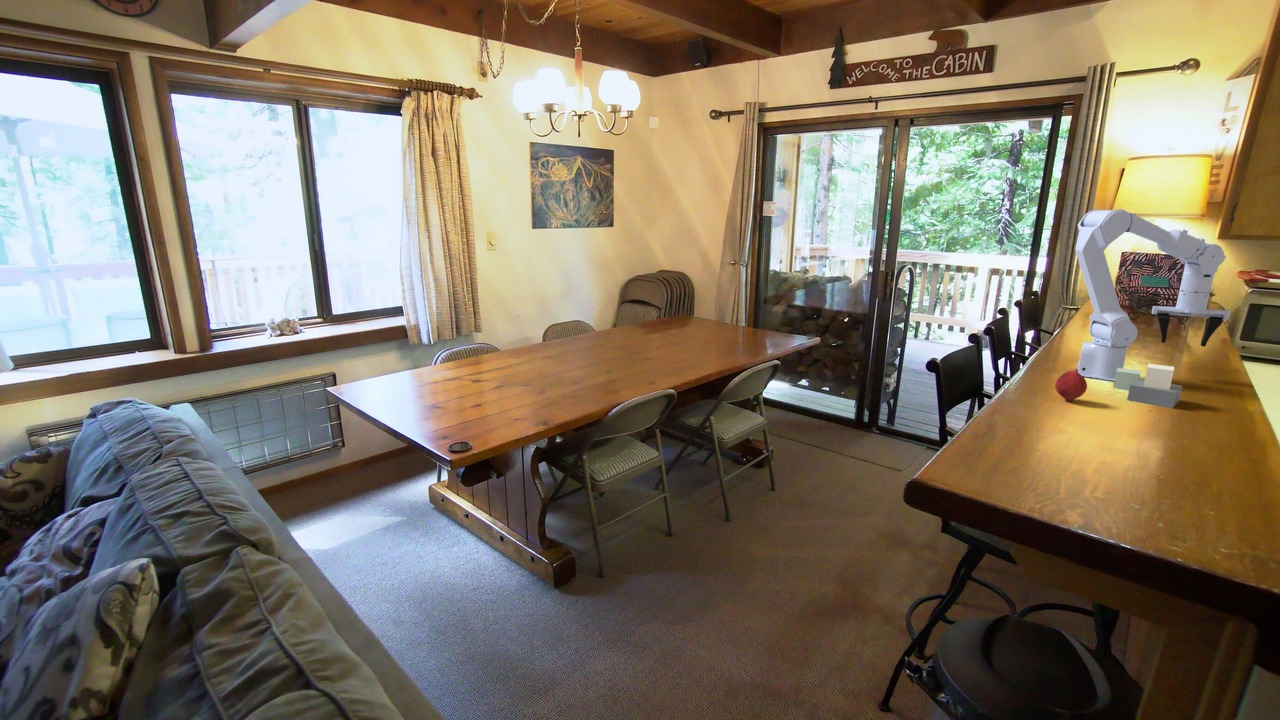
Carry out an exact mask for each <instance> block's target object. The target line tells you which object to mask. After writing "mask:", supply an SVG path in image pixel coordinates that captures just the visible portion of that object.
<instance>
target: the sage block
mask: <svg viewBox="0 0 1280 720" xmlns="http://www.w3.org/2000/svg"><path fill="white" fill-rule="evenodd" d="M1141 372H1142V371H1141V370H1139V369H1138V370H1136V369H1129V368H1124V367H1123V368H1117V371H1116V375H1115V380H1114V381H1113V385H1112V389H1115V388H1117V389H1116V390H1121V389H1122V390H1121V391H1128V392H1129V389H1130V385H1131V384H1132V383H1133V382H1135V381H1136V380H1137V379H1140V377H1141Z"/></svg>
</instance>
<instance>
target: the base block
mask: <svg viewBox="0 0 1280 720" xmlns="http://www.w3.org/2000/svg"><path fill="white" fill-rule="evenodd" d="M1144 381H1145V379H1140V378H1139V379H1137V380H1136V381H1135V382H1133V383H1132V384H1131V385H1130V389H1129V391H1128V393H1127V394H1128V395H1127V399H1126V401H1129V402H1135V403H1141V404H1144V405H1145V404H1146V405H1151V406H1156V407H1161V406H1162V407H1163V408H1168V409H1174V407H1175V406H1176V405H1177V404H1178V403H1179V402H1180V398H1181V394H1182V390H1183V386H1182V385H1177V384H1172V383H1171V386H1170V390H1167V389H1160V388H1153V387H1146V386H1144Z"/></svg>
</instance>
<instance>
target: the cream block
mask: <svg viewBox="0 0 1280 720" xmlns="http://www.w3.org/2000/svg"><path fill="white" fill-rule="evenodd" d="M1174 372H1175V366H1172V365H1171V366H1170V365H1163V364H1156V363H1148V365H1147V368H1146V373H1145V378H1144V380H1145V381H1144V386H1146V387H1153V388H1160V389H1167V390H1170V386H1171V384H1172V380H1173V375H1174Z"/></svg>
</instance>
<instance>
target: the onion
mask: <svg viewBox="0 0 1280 720" xmlns="http://www.w3.org/2000/svg"><path fill="white" fill-rule="evenodd" d="M1054 386H1055V387H1054V388H1055V390H1056V392H1057V393H1058V394H1059V396H1060V397H1062V398H1063V399H1064V400H1065V401H1066V402H1072V401H1073V400H1075V399H1079V398H1080V397H1082V396H1083V395H1084V394H1085V393H1086V391H1087V387H1088V383H1087V381H1086V379H1085V377H1083V376H1082V375H1081V374H1079V373H1078V368H1077V367H1073V368H1072V369H1071V370H1069V371H1066V372H1064V373H1062V374H1061V375H1060V376H1059V377H1058V378H1057V379H1056V382H1055V385H1054Z"/></svg>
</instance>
